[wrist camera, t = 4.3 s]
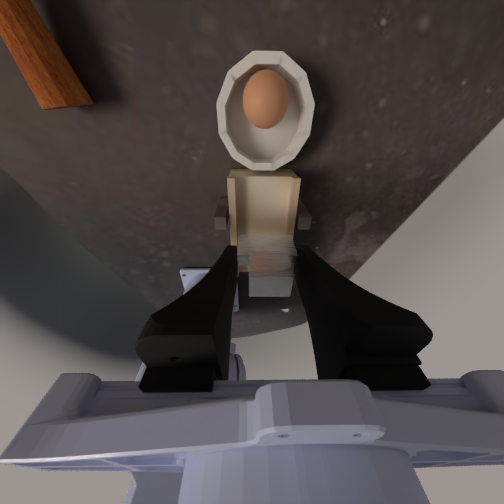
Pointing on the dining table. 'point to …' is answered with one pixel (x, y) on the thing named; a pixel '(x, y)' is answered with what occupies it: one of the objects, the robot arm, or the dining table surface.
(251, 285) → the gate
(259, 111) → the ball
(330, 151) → the dining table surface
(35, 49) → the kendama
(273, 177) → the wooden box
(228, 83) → the white round shallow bowl
